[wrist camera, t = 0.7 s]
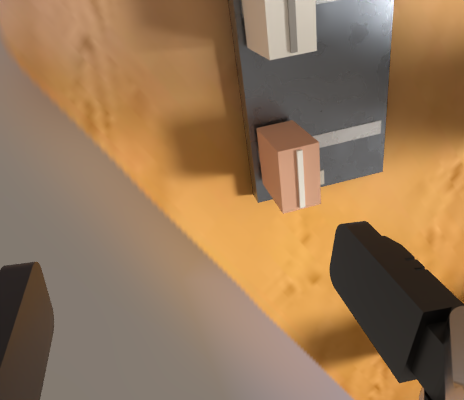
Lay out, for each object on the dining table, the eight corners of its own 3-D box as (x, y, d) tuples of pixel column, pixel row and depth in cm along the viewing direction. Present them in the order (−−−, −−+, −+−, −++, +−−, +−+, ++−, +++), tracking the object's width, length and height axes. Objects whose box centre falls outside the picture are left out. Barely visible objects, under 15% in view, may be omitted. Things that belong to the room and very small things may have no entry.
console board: (387, -94, 27) (401, -98, 26) (373, 165, 37) (383, 172, 36) (219, -68, 26) (224, -71, 24) (253, 194, 36) (258, 203, 34)
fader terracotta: (292, 120, 31) (320, 143, 27) (296, 175, 34) (322, 205, 29) (256, 128, 31) (278, 153, 26) (262, 183, 33) (283, 214, 29)
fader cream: (282, -42, 25) (315, -47, 21) (287, 39, 28) (318, 51, 24) (237, -35, 25) (262, -38, 21) (247, 47, 28) (270, 60, 23)
